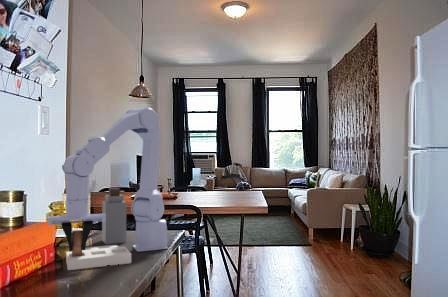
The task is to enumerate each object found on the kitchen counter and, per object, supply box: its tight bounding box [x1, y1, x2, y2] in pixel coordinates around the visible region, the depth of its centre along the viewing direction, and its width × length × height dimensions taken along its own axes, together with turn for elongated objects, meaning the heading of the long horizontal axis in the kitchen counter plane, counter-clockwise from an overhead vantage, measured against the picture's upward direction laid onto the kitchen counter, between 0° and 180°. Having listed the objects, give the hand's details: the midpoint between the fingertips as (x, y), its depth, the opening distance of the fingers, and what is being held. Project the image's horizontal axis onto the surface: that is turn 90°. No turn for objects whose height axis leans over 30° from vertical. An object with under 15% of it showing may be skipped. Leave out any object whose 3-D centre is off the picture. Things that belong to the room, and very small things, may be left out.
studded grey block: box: [85, 244, 120, 250], centre depth 114 cm, size 14×6×6 cm, turn 115°
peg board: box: [65, 245, 132, 271], centre depth 105 cm, size 16×10×2 cm, turn 115°
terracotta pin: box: [72, 229, 82, 257], centre depth 103 cm, size 3×3×7 cm
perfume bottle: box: [101, 187, 127, 245], centre depth 132 cm, size 7×7×18 cm
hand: (77, 250), depth 103 cm, fingers closed on terracotta pin, 3 cm apart
